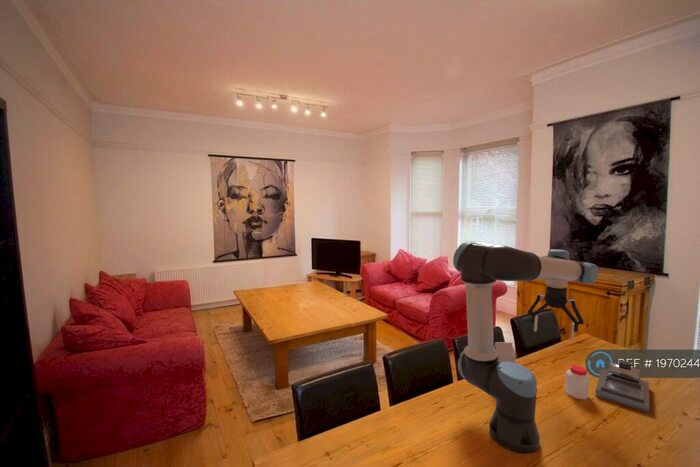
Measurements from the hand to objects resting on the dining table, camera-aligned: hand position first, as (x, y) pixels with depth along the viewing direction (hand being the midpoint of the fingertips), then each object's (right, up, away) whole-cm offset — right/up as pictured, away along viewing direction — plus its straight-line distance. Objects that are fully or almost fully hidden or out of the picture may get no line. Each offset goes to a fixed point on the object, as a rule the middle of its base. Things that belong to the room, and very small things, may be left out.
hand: (553, 334), depth 140 cm
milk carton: (-22, -22, 0) cm, 31 cm away
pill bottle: (+6, -23, -6) cm, 24 cm away
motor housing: (+26, -23, -5) cm, 34 cm away
